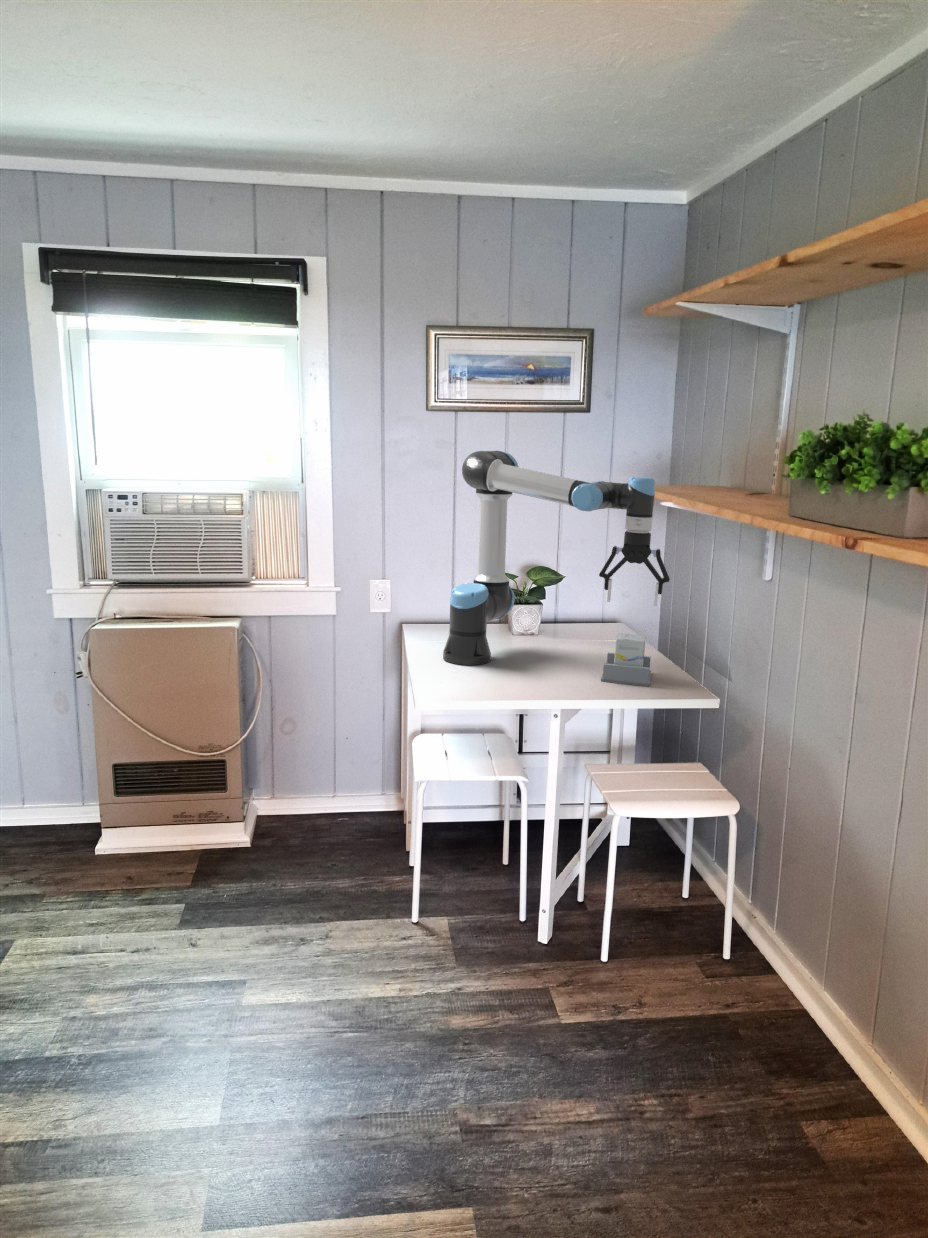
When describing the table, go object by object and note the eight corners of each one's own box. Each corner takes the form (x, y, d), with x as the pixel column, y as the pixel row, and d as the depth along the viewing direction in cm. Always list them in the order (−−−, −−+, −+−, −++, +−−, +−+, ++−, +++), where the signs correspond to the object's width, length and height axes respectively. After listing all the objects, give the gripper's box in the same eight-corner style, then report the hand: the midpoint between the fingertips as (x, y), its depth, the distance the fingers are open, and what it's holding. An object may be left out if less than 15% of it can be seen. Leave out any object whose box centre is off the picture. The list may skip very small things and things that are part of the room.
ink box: (641, 679, 248) (645, 641, 245) (612, 677, 250) (615, 638, 247) (642, 672, 256) (646, 634, 253) (614, 669, 258) (617, 632, 255)
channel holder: (600, 681, 247) (602, 664, 246) (605, 668, 262) (606, 652, 261) (649, 686, 244) (650, 669, 243) (650, 672, 258) (652, 656, 257)
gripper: (593, 529, 243) (588, 601, 248) (682, 535, 237) (675, 609, 242) (596, 527, 250) (590, 597, 255) (682, 532, 244) (675, 604, 249)
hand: (631, 603), depth 248 cm, fingers open, 13 cm apart
